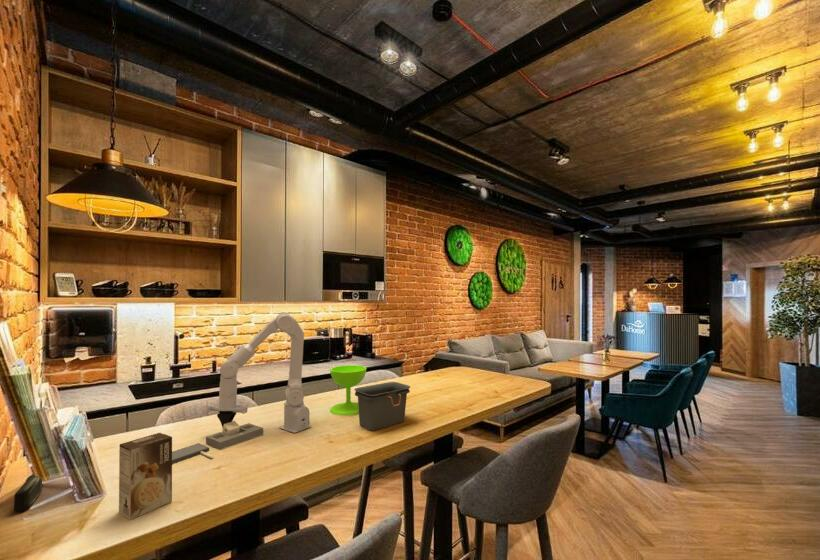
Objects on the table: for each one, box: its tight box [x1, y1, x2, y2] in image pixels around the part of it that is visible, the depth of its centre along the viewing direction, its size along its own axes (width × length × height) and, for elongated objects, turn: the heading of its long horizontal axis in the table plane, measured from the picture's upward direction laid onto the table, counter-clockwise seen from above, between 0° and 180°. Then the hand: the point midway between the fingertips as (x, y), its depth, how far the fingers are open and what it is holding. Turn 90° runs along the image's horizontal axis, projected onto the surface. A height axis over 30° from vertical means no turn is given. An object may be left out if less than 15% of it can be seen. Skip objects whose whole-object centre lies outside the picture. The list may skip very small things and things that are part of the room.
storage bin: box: [353, 381, 411, 431], centre depth 147 cm, size 21×16×14 cm
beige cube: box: [221, 420, 241, 436], centre depth 133 cm, size 4×4×4 cm
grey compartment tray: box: [205, 422, 264, 450], centre depth 132 cm, size 9×16×2 cm, turn 146°
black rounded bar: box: [13, 473, 44, 513], centre depth 94 cm, size 5×3×15 cm
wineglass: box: [329, 364, 367, 416], centre depth 166 cm, size 16×16×18 cm
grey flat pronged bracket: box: [172, 442, 214, 465], centre depth 117 cm, size 14×13×1 cm
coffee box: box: [118, 432, 173, 520], centre depth 91 cm, size 9×6×16 cm
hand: (226, 432), depth 135 cm, fingers closed, pressing on beige cube
